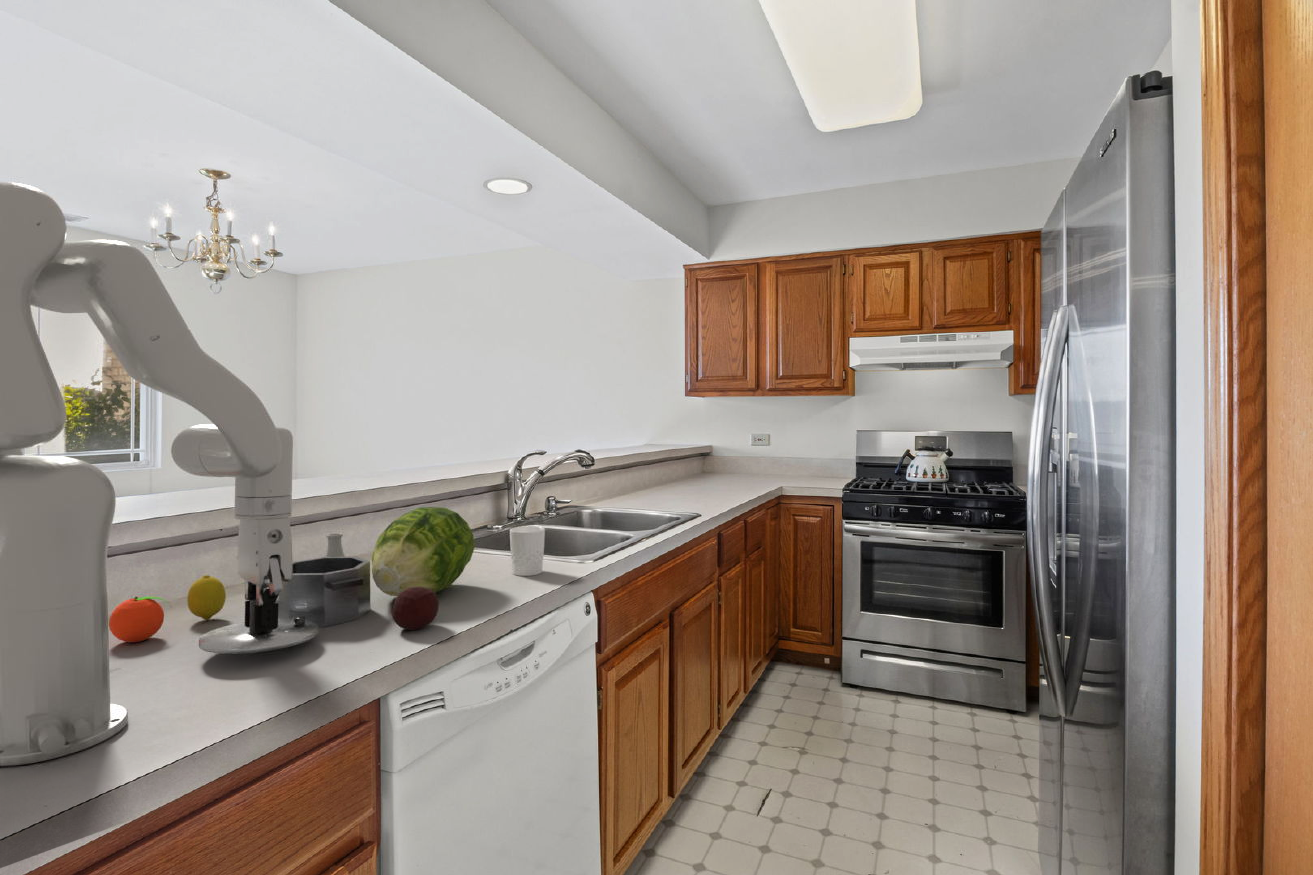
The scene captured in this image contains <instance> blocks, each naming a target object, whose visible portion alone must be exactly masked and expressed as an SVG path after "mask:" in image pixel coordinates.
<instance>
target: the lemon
mask: <svg viewBox="0 0 1313 875" xmlns="http://www.w3.org/2000/svg"><path fill="white" fill-rule="evenodd" d="M226 595H227V594H226V590H225V586H224V584H223V583H222V581H221V580H219V579H218V578H216V577H214V576H210V575H209V574H204V575H202V577H201V578H199V579H197V580H195V581H194V582H193V583H192V584H191V585H190V587H189V589H188V593H187V607H188V609H189V611H190V612H191V613H192V615H194V616H196V617H199V618H201V619H203V620H204V621H210V620H211V618H212V617H213V616H215V615H216V614H219V613H220V612H221V610H223V608H224V605H225V602H226V597H227V596H226Z"/></svg>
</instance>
